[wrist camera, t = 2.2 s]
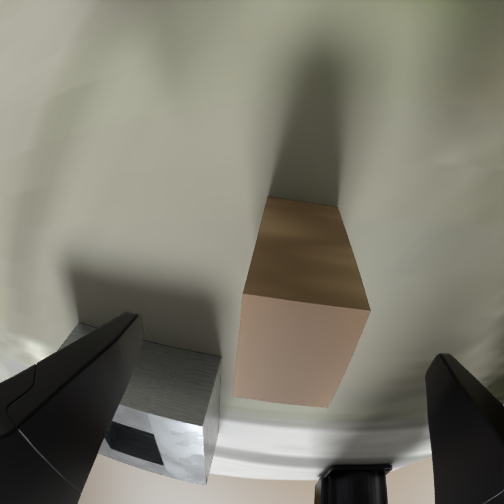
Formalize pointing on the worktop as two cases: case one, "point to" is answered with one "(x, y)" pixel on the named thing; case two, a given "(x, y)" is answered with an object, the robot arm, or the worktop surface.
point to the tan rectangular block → (299, 307)
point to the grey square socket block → (166, 412)
